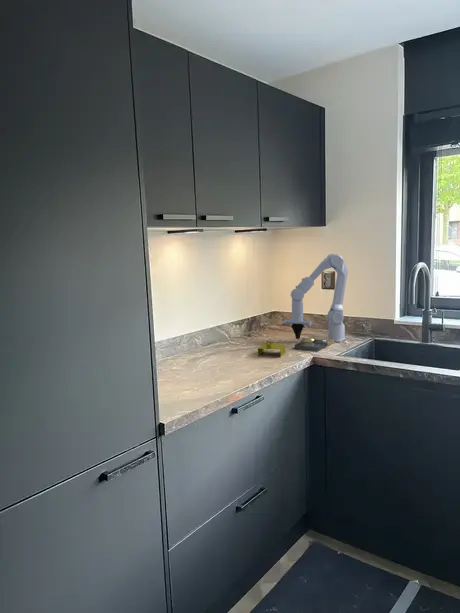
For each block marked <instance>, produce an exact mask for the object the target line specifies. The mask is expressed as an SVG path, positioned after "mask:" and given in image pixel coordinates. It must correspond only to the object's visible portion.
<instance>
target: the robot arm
mask: <svg viewBox="0 0 460 613" xmlns="http://www.w3.org/2000/svg"><path fill="white" fill-rule="evenodd" d="M328 269H333V270H334V271H335V273H336V279H335V285H334V292H333V298H332V304H331V305H330V309H329V311H328V312H327V319H328V321H327V322H328V323H327V325H328V326H327V327H328V328H327V329H328V333H327V334H328V335H327V336H328V337H327V338H334V343H335V342H336V343H341V342H344V340H347V337H345V336H346V326H345V324H344V323H343V322H344V319H345V317H344V307H343V303H344V298H345V291H346V286H347V280H348V274H349V270H348V267H347V265H346V261H345V259H344V257H342V255H340V254H339V253H335V254H334V253H330V254H328V255H327V256H326V257H325V258H323V260H322V261H321V262H320V263H319V264H318V266H316V268H315V269H314V270H313V271H312V273H311V274H309V276H305V277H303V278H301V280H300V283H298V284H297V285H295V288H293V289H292V290H291V292H290V297H291V319H284V320H283V324H288V325H290V327H291V329H292V331H293V333H294V336H295V339H296V340H298V339H301V336H302V332H303V329H304V327H305V326H309V327H311V326H312V321H311V320H304V302H303V301H304V300H303V299H304V298H305V295H306V294H307V293H308V292H309V290H311V289H312V287H313V286H315V280H316V279H317V278H318V277H319V276H320V275H321V274H323V273H324V271H326V270H328Z"/></svg>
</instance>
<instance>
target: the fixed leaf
mask: <svg viewBox="0 0 460 613" xmlns="http://www.w3.org/2000/svg"><path fill="white" fill-rule="evenodd" d="M327 345H329V343H328V342H327V340H319V339H315V340H314V343H310V342H301V341H300V342H297V343H295V344H294V350H300V349H301V350H302V351H311V352H320V351H321V350H324V349H325V348H327V347H328V346H327ZM329 346H330V345H329ZM301 350H300V351H301Z"/></svg>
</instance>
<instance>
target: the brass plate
mask: <svg viewBox="0 0 460 613" xmlns="http://www.w3.org/2000/svg"><path fill="white" fill-rule="evenodd" d="M315 339H319V340H327V342H328V343H329V345H327V347H328V346H330V345H333V344H334V343H335V342H334V338H328V337H321V336H320V337H319V336H309V337H302V338H301V340H300V342H310V343H314V340H315Z"/></svg>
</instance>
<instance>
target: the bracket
mask: <svg viewBox="0 0 460 613" xmlns="http://www.w3.org/2000/svg"><path fill="white" fill-rule="evenodd" d="M265 350H280V357H281V356H284V354H286V344H285V343H284V344H279V342H276V341H274V342H273V343H272V342H271V341H270V340H267V341H266V343H263V344H262V345H260V346H259V347H258V348H257V357H260V355H261V354H262V353H264V351H265Z"/></svg>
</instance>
